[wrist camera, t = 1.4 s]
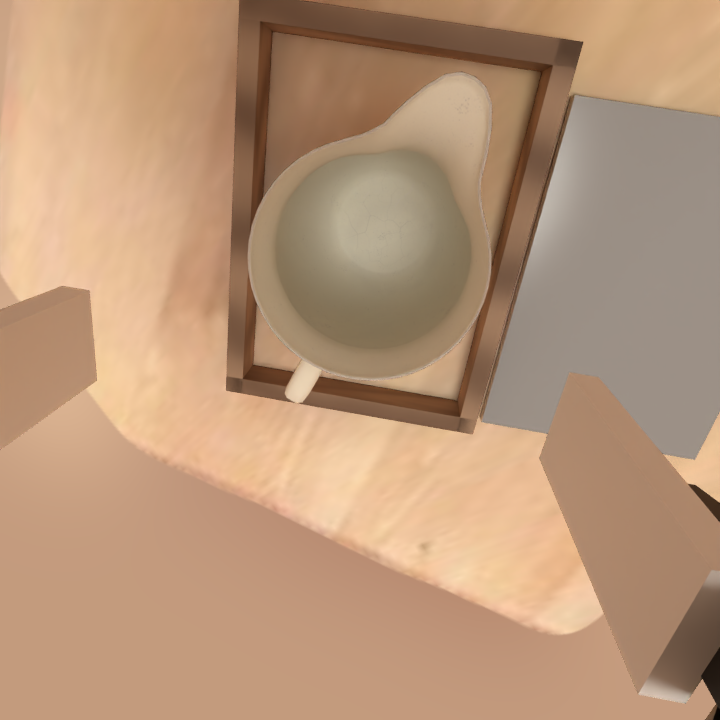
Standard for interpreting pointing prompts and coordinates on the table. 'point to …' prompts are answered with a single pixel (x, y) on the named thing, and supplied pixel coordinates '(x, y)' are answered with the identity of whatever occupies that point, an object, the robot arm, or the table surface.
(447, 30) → the frame
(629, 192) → the slate board
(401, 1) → the table surface
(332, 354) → the pitcher
